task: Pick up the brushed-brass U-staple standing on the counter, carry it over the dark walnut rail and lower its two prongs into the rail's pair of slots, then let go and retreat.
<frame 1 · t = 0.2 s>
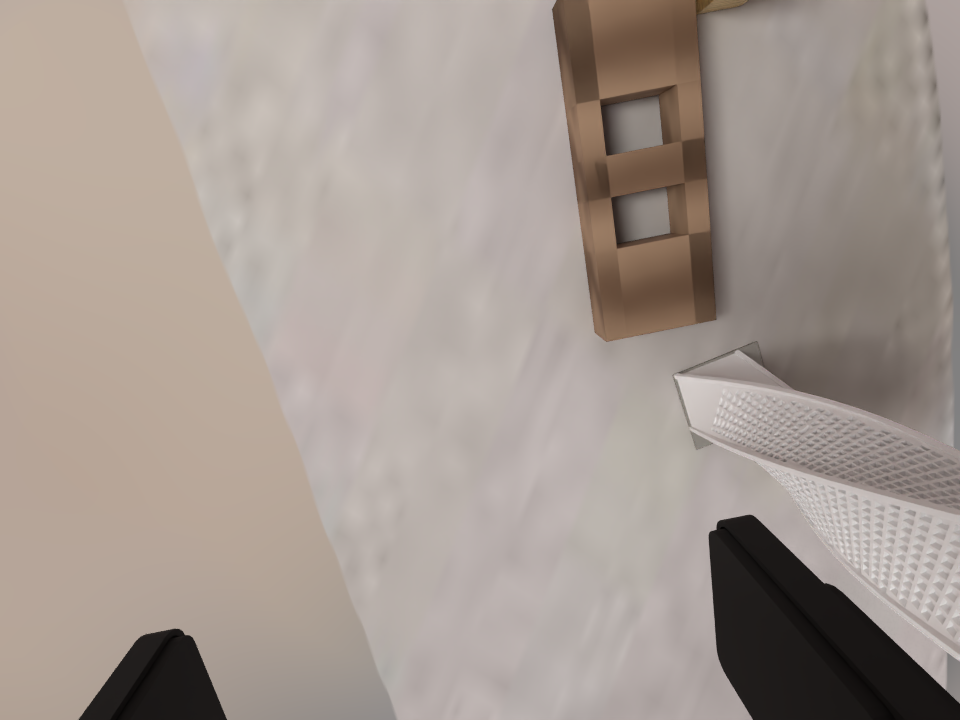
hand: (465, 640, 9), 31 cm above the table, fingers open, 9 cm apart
rail: (630, 173, 37), on the table
skyscraper: (712, 392, 43), on the table
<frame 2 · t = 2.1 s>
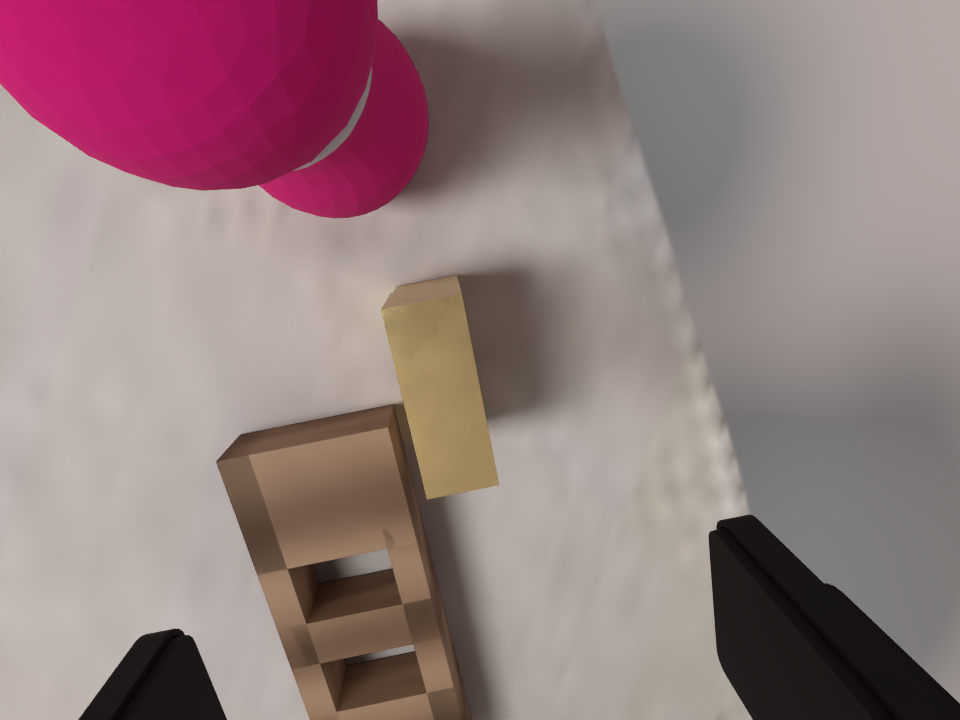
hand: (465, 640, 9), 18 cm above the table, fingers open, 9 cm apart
rail: (368, 593, 30), on the table
clip: (442, 356, 27), on the table
pepper mill: (350, 133, 24), on the table
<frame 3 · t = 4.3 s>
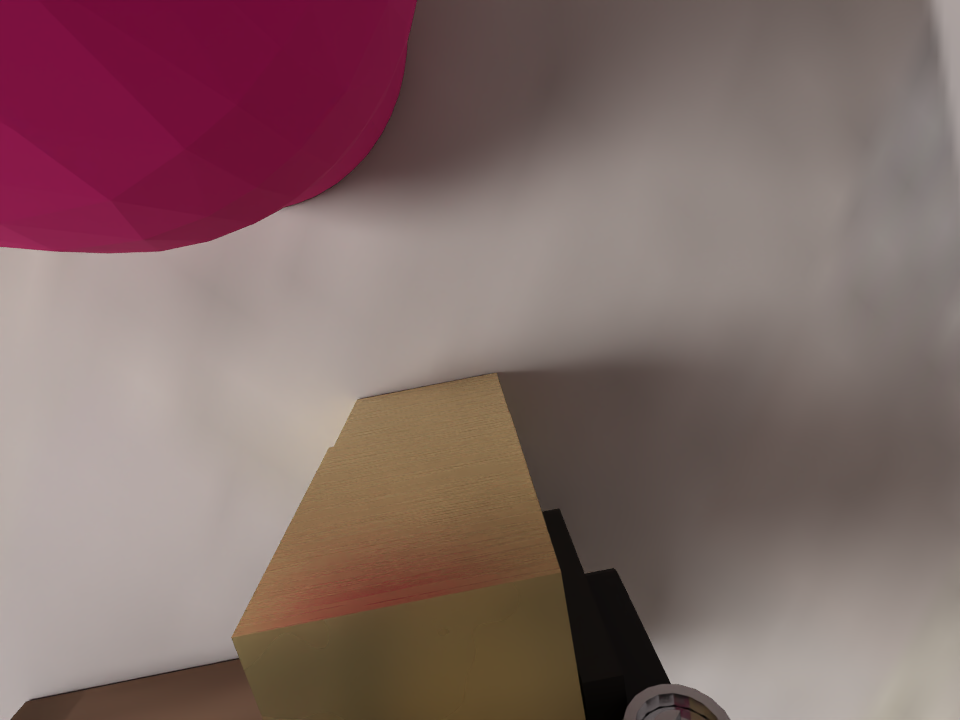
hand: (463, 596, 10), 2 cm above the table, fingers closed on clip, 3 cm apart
clip: (461, 543, 12), on the table, touching gripper
pepper mill: (232, 29, 9), on the table
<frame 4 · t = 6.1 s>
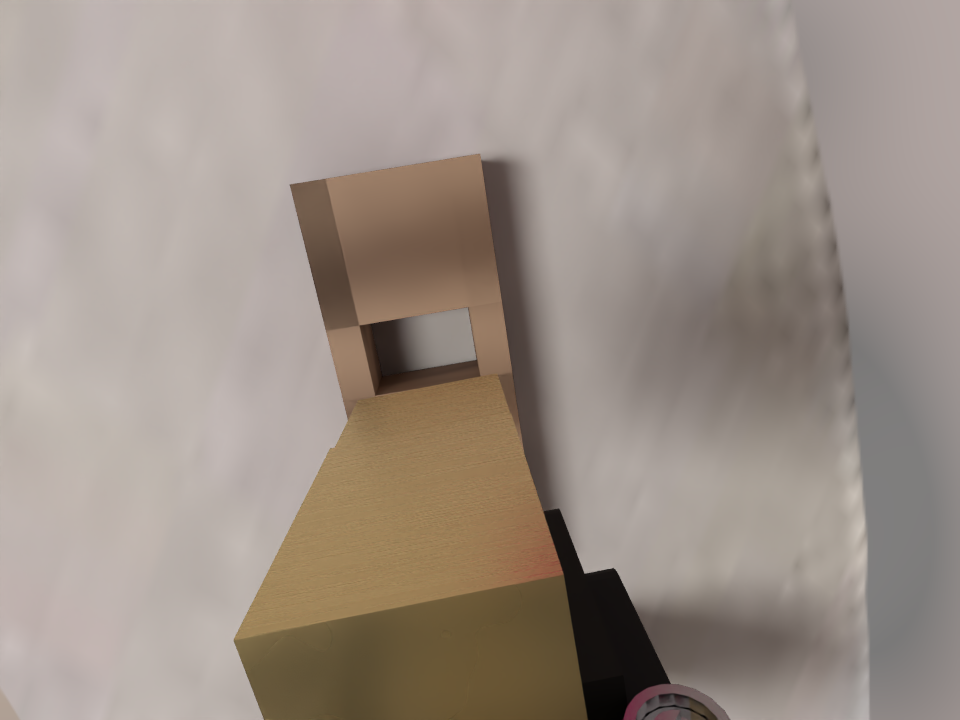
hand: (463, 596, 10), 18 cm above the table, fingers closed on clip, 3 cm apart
rail: (434, 391, 28), on the table
clip: (462, 543, 12), point 16 cm above the table, touching gripper
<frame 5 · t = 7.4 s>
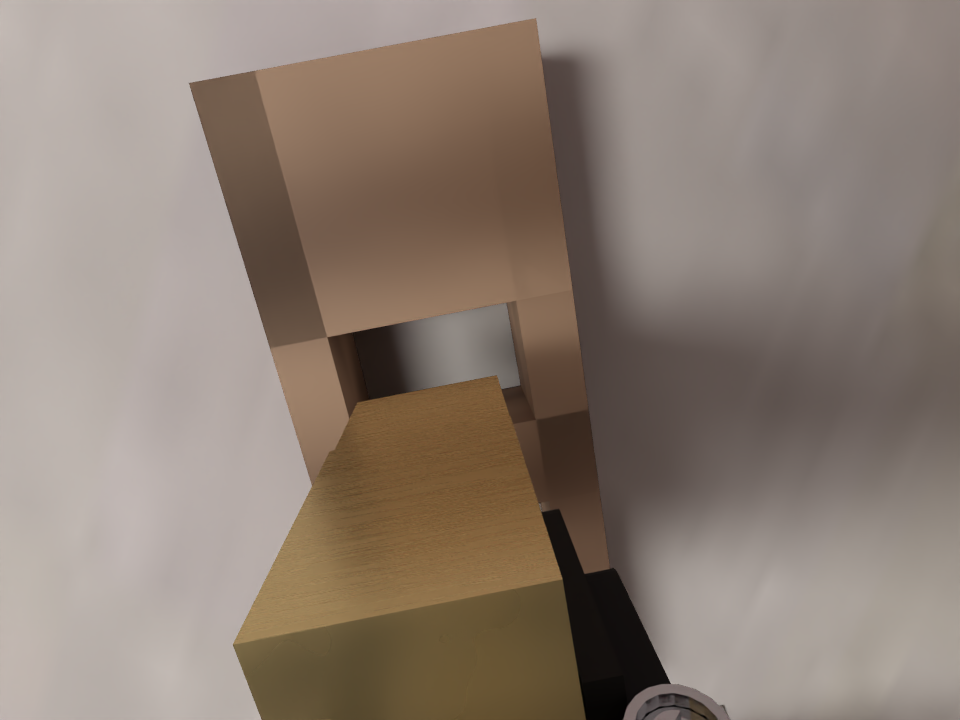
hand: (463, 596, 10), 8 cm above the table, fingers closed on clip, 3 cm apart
rail: (454, 435, 18), on the table
clip: (462, 545, 12), point 6 cm above the table, touching gripper
when the fingers open (4 cm above the table, at t = 8.4 s): clip drops 2 cm, resting on rail.
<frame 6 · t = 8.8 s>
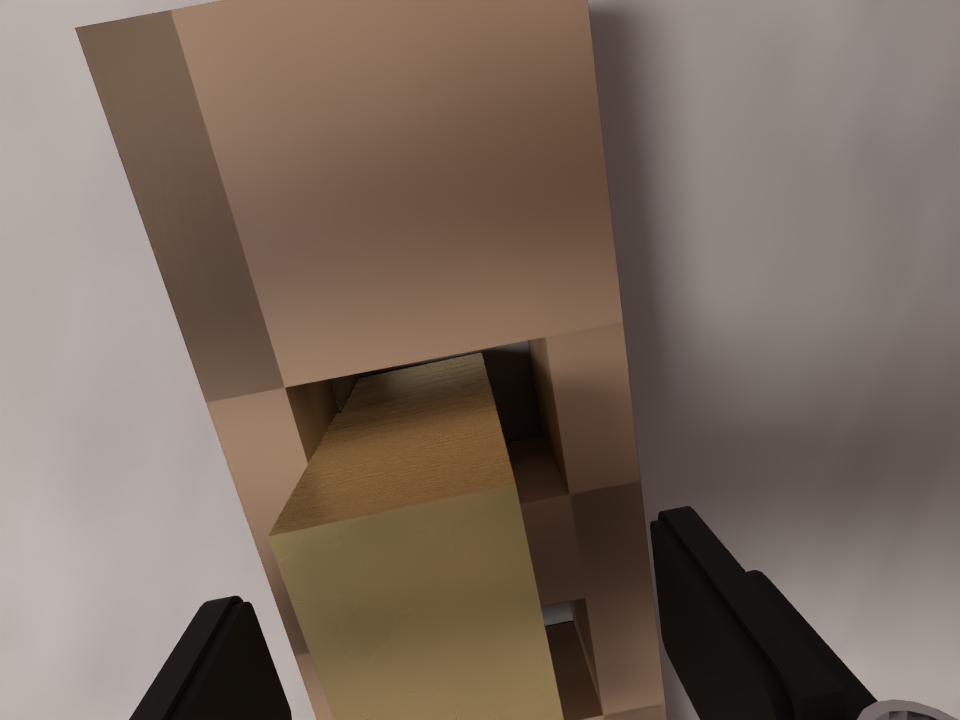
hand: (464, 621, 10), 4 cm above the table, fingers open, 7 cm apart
rail: (459, 497, 14), on the table
clip: (454, 505, 14), resting on rail
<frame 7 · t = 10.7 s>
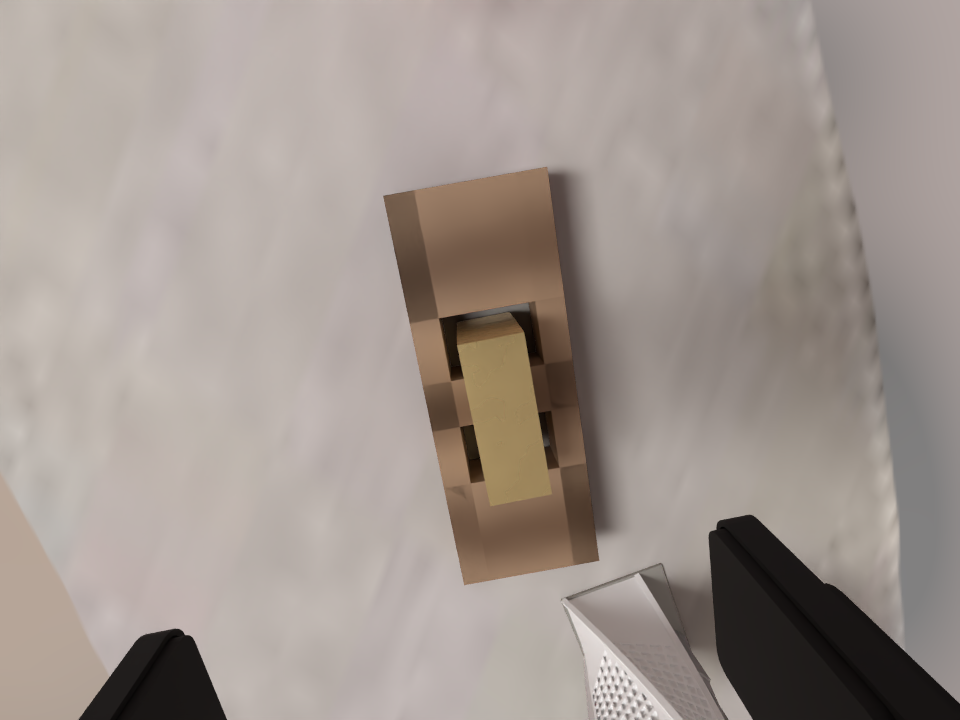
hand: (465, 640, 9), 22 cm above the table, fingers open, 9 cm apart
rail: (497, 380, 31), on the table
skyscraper: (611, 614, 36), on the table
clip: (495, 382, 30), resting on rail
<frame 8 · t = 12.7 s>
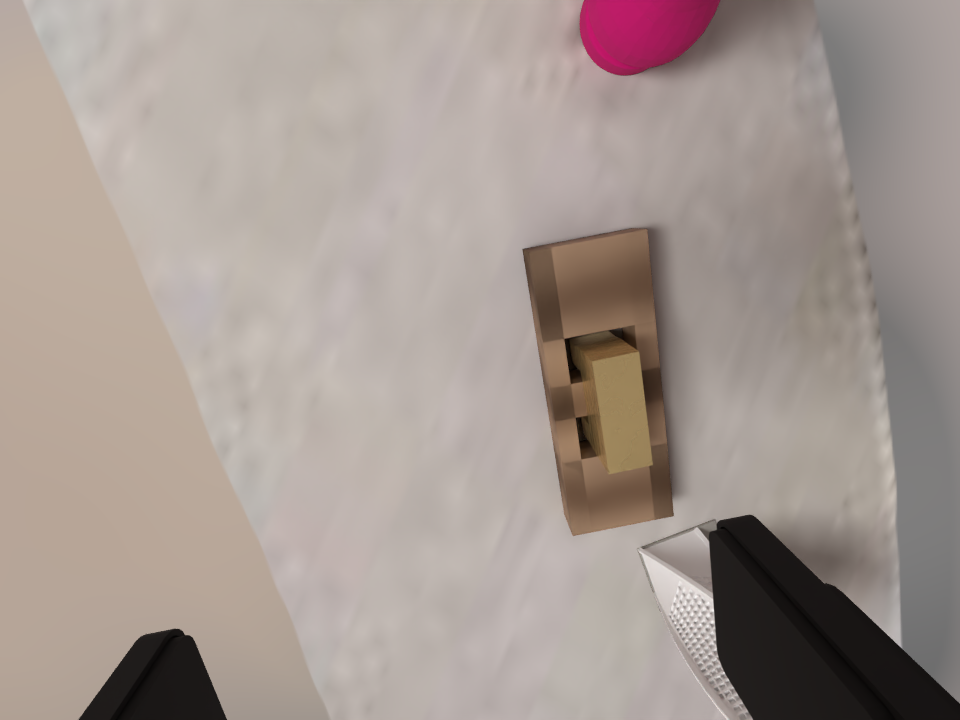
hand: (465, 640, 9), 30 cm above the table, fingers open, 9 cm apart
rail: (595, 381, 40), on the table
skyscraper: (674, 560, 46), on the table
clip: (595, 383, 40), resting on rail
pepper mill: (625, 24, 34), on the table
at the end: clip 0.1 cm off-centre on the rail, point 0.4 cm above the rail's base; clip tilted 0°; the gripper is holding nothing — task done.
